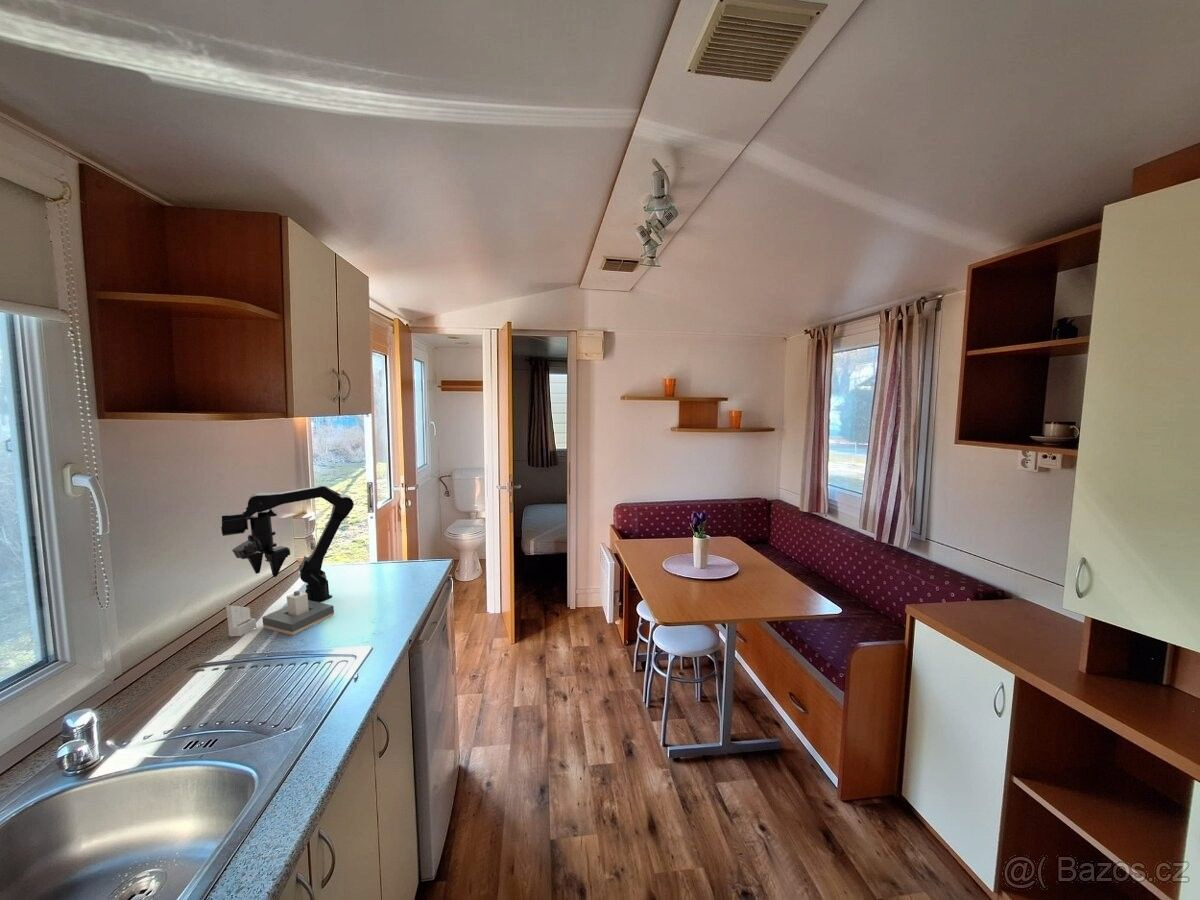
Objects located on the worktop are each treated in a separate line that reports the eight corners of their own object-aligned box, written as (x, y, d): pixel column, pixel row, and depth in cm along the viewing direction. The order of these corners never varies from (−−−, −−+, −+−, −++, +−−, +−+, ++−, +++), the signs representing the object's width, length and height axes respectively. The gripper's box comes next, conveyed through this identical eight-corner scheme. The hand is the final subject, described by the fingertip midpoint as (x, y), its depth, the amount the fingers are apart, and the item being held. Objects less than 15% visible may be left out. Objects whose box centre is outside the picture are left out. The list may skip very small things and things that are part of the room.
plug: (301, 614, 155) (298, 588, 154) (309, 616, 153) (306, 590, 152) (289, 620, 151) (286, 593, 150) (297, 622, 150) (294, 595, 149)
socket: (305, 608, 161) (304, 599, 161) (334, 615, 156) (333, 605, 156) (263, 627, 149) (262, 617, 148) (292, 635, 143) (291, 624, 143)
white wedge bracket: (214, 635, 139) (225, 604, 142) (243, 636, 148) (253, 608, 151) (224, 636, 138) (235, 605, 142) (253, 637, 147) (263, 608, 151)
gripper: (217, 534, 154) (223, 580, 156) (254, 540, 147) (259, 587, 149) (253, 525, 164) (258, 568, 166) (289, 530, 157) (293, 575, 159)
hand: (266, 575), depth 160 cm, fingers open, 9 cm apart
